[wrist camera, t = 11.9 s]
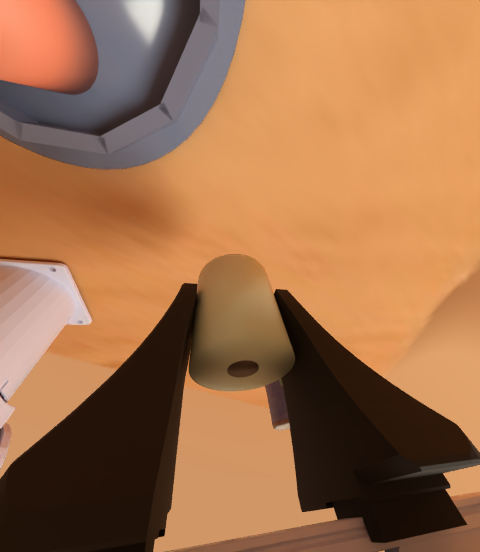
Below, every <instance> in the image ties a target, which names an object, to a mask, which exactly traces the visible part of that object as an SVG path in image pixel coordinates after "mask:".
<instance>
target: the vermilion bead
mask: <svg viewBox="0 0 480 552" xmlns="http://www.w3.org/2000/svg"><path fill="white" fill-rule="evenodd" d="M98 64H99V61H98V51H97V46H96V42H95V38H94V35H93V32H92V30H91V27H90V25H89V23H88V21H87V19H86V17H85V15H84V13H83V11H82V10H81V8H80V6H79V5H78V3H77V2H76V1H75V0H0V80H4V81H8V82H13V83H17V84H22V85H27V86H31V87H36V88H40V89H45V90H49V91H54V92H59V93H63V94H68V95H78V94H82V93H84V92H86V91H87V90H89V89H90V88H91V87H92V85H93V84H94V82H95V80H96V77H97V73H98Z"/></svg>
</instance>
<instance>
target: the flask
mask: <svg viewBox="0 0 480 552" xmlns="http://www.w3.org/2000/svg"><path fill="white" fill-rule="evenodd" d="M265 388H266V392H267V397H268V403H269V408H270V413H271V418H272V425H273V427H274V429H276V430H284V429H288V428H290V424H289V418H288V412H287V406H286V400H285V395H284V389H283V384H282V380H281V378H280V379H279V380H277V381H275V382H273V383H271V384H268V385H265Z"/></svg>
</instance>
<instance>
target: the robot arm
mask: <svg viewBox="0 0 480 552" xmlns="http://www.w3.org/2000/svg"><path fill="white" fill-rule="evenodd" d="M54 268H55V269H54ZM274 297H275V300H276V302H277V305H278V308H279V311H280V314H281V317H282V320H283V323H284V326H285V328H286V331H287V334H288V337H289V340H290V343H291V346H292V349H293V351H294V354H295V363H294V365H293V367H292V369H291V370H290V371H289V372H288V373H287V374H286V375H285V376H283V377H282V378H281V380H282V384H283V389H284V395H285V400H286V406H287V412H288V418H289V424H290V431H291V437H292V445H293V453H294V462H295V470H296V479H297V490H298V497H299V501H300V506H301V510H302V512H307V511H314V510H320V509H327V508H333V507H334V510H335V513H336V516H337V519H338V520H334V521H329V522H324V523H318V524H312V525H307V526H301V527H296V528H291V529H285V530H280V531H274V532H269V533H263V534H258V535H253V536H247V537H242V538H237V539H231V540H226V541H220V542H215V543H210V544H204V545H198V546H193V547H188V548H182V549H177V550H172V551H167V552H378V551H383V550H385V552H480V492H477V493H469V494H463V495H457V496H452V497H450V496H449V495H448V493H447V491H446V490H445V489H447V488H450V484H449V482H448V481H447V479H446V478H445V476H444V475H443V473H445V472H450V471H455V470H459V469H464V468H468V467H472V466H476V465H480V452H479V451H478V450H477V449H476V448H475V446H474V445H473V444H472V442H471V441H470V440H469V439H468V437H467V436H466V435H465V434H464V433H463V431H462V430H461V429H460V428H459V426H458V425H456V424H455V423H453V422H452V421H450V420H448V419H447V418H445V417H444V416H442V415H440V414H439V413H437V412H435V411H433V410H432V409H430V408H429V407H427V406H425V405H424V404H422V403H420V402H419V401H417V400H416V399H414V398H412V397H411V396H410V395H408V394H406V393H405V392H404V391H402V390H400V389H399V388H398V387H396V386H394V385H393V384H391V383H390V382H389V381H387V380H386V379H384V378H383V377H382V376H380V375H379V374H378V373H376V372H375V371H374V370H372V369H371V368H370V367H368V366H367V365H365V364H364V363H363V362H362V361H360V360H359V359H358V358H357V357H355V356H354V355H353V354H352V353H351V352H349V351H348V350H347V349H346V348H345V347H343V346H342V345H341V344H340V343H339V342H338V341H336V340H335V339H334V338H333V337H332V336H331V335H330V334H329V333H328V332H327V331H326V330H325V329H324V328H323V327H322V326H321V325H320V324H319V323H318V322H317V321H316V320H315V319H314V318H313V317H312V316H311V315H310V314H309V313H308V312H307V311H306V310H305V309H304V308H303V307H302V305H301V304H300V303H299V302H298V301H297V300H296V299H295V298H294V297H293V296H292V295H291V294H290V293H289V292H288V291H287V290H281V289H276V290H275V293H274ZM196 299H197V284H190V283H184V284H183V285H182V286H181V289H180V291H179V293H178V294H177V296H176V298H175V299H174V301H173V303H172V304H171V306H170V307H169V309H168V310H167V312H166V313H165V315H164V316H163V317H162V319H161V320H160V321H159V323H158V324H157V325H156V327H155V328H154V329H153V331H152V332H151V333H150V334H149V336H148V337H147V338H146V339H145V340H144V342H143V343H142V344H141V345H140V346H139V347H138V348H137V350H136V351H135V352H134V353H133V354H132V355H131V356H130V357H129V358H128V359H127V360H126V361H125V362H124V363H123V364H122V365H121V367H120V368H119V369H118V370H117V371H116V372H115V373H114V374H113V375H112V376H111V377H110V378H109V379H108V380H107V381H105V382H104V383H103V384H102V385H101V386H100V387H99V388H98V389H97V390H96V391H95V392H94V393H93V394H91V395H90V396H89V397H88V398H87V399H86V400H85V401H84V402H83V403H82V404H81V405H80V406H78V408H76V409H75V410H74V411H73V412H72V413H71V414H70V415H68V416H67V417H66V418H65V419H64V420H63V421H61V422H60V423H59V424H58V425H57V426H55V427H54V428H53V429H52V430H51V431H50V432H48V433H47V434H46V435H45V436H43V437H42V438H41V439H40V440H39V441H38V442H36V443H35V444H34V445H33V446H32V447H30V448H29V449H28V450H27V451H26V452H24V453H23V454H22V455H21V456H20V457H18V458H17V459H16V460H15V461H14V462H13V463H12V464H11V465H10V466H9V468H8V469H7V470H6V472H5V473H4V475H3V476H2V477H1V479H0V552H153V548H154V541H155V539H157V538H158V537H162V536H164V535H165V528H166V520H167V514H168V512H169V511H170V509H171V503H172V493H173V483H174V474H175V473H174V472H175V463H176V454H177V445H178V435H179V426H180V416H181V407H182V398H183V389H184V382H185V376H186V370H187V365H188V360H189V355H190V350H191V343H192V334H193V325H194V316H195V308H196ZM91 322H92V319H91V317H90V314H89V312H88V310H87V308H86V306H85V304H84V301H83V299H82V297H81V295H80V293H79V291H78V288H77V286H76V284H75V282H74V280H73V278H72V275H71V273H70V271H69V269H68V267H67V266H66V265H65V264H62V263H54V262H39V261H24V260H10V259H0V469H1V467H2V464H3V463H4V460H5V458H6V455H7V452H8V448H9V445H10V441H11V435H12V432H11V427H10V426H9V425H8V424H7V423H6V421H7V420H8V418H9V417H10V416H11V414H12V413H13V411H14V410H15V407H14V406H11V405H9V404H7V402H8V400H9V399H10V398H11V396H12V395H13V394H14V392H15V391H16V390H17V388H18V387H19V386H20V384H21V383H22V382H23V380H24V379H25V378H26V376H27V375H28V374H29V372H30V371H31V370H32V368H33V367H34V366H35V365H36V363H37V362H38V361H39V359H40V358H41V357H42V355H43V354H44V353H45V351H46V350H47V349H48V347H49V346H50V345H51V343H52V342H53V341H54V339H55V338H56V337H57V336H58V334H59V333H60V332H61V330H62V329H63V328H64V326H65V325H66V324H74V325H88V324H90V323H91Z"/></svg>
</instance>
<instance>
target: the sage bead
mask: <svg viewBox="0 0 480 552" xmlns="http://www.w3.org/2000/svg"><path fill="white" fill-rule="evenodd" d="M294 363H295V354H294V351H293V349H292V346H291V343H290V340H289V337H288V334H287V331H286V328H285V326H284V323H283V320H282V317H281V314H280V311H279V308H278V305H277V302H276V300H275V297H274V294H273V291H272V288H271V285H270V282H269V279H268V277H267V274H266V271H265V269H264V267H263V266H262V265H261V264H260V263H259V262H258V261H257V260H255V259H254V258H251V257H249V256H246V255H241V254H229V255H224V256H220V257H218V258H215V259H214V260H212V261H210V262H209V263H208V264H207V265H206V266H205V267H204V268H203V269H202V271H201V273H200V275H199V280H198V288H197V299H196V308H195V316H194V325H193V334H192V343H191V352H190V361H189V374H190V376H191V378H192V379H193V380H194V381H195V382H196V383H198V384H199V385H201V386H203V387H206V388H209V389H213V390H219V391H243V390H250V389H255V388H259V387H262V386H265V385H268V384H271V383H273V382H275V381H277V380H279V379H280V378H282V377H283V376H285V375H286V374H287V373H288V372H289V371H290V370H291V369H292V367H293V365H294Z"/></svg>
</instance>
